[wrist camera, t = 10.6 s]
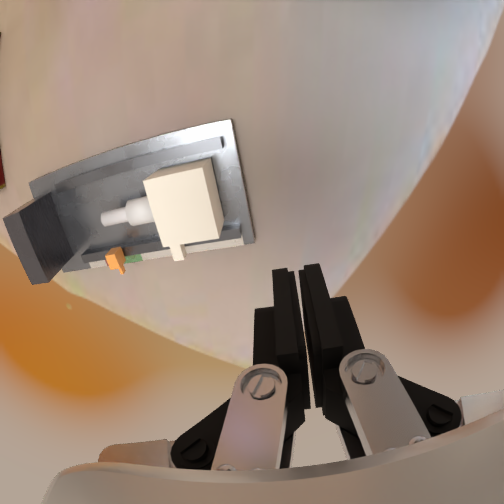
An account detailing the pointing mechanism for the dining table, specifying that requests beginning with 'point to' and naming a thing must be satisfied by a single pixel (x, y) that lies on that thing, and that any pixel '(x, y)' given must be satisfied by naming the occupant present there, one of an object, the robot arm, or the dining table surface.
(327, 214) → the dining table surface
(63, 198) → the gauge bed
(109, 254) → the indicator
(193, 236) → the cube with side peg
